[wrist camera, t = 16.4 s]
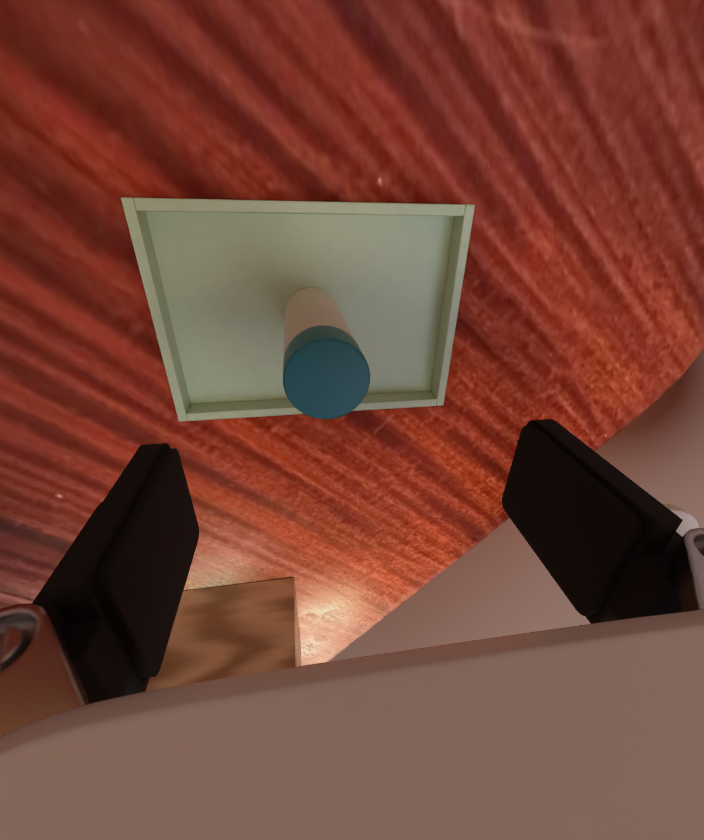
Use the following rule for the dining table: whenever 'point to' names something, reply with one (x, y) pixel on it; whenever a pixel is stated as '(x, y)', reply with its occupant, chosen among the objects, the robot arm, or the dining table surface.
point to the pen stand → (231, 633)
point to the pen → (321, 357)
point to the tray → (287, 274)
